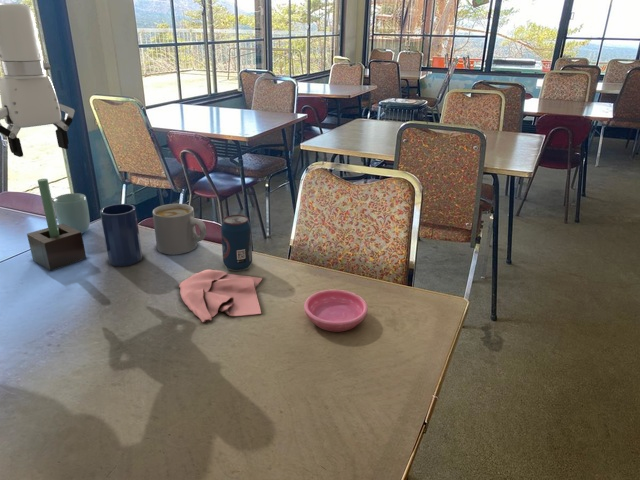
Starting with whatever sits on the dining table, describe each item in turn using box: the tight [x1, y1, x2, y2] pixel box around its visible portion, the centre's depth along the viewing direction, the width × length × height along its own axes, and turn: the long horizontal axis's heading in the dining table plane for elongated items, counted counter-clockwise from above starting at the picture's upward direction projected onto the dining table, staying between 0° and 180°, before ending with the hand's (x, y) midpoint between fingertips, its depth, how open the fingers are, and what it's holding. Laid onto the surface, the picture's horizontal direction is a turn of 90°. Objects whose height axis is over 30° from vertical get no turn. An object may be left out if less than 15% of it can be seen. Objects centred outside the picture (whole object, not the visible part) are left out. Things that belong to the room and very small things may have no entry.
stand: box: [26, 224, 87, 272], centre depth 115 cm, size 9×9×7 cm
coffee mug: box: [152, 203, 207, 255], centre depth 122 cm, size 13×10×10 cm
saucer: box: [303, 289, 369, 333], centre depth 94 cm, size 12×12×3 cm
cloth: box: [178, 268, 263, 323], centre depth 101 cm, size 20×22×2 cm
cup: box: [52, 192, 91, 234], centre depth 129 cm, size 8×8×10 cm
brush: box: [37, 178, 59, 238], centre depth 112 cm, size 3×3×20 cm
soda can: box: [220, 214, 253, 272], centre depth 113 cm, size 7×7×12 cm
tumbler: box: [99, 203, 143, 267], centre depth 114 cm, size 8×8×13 cm
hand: (41, 151), depth 106 cm, fingers open, 9 cm apart
